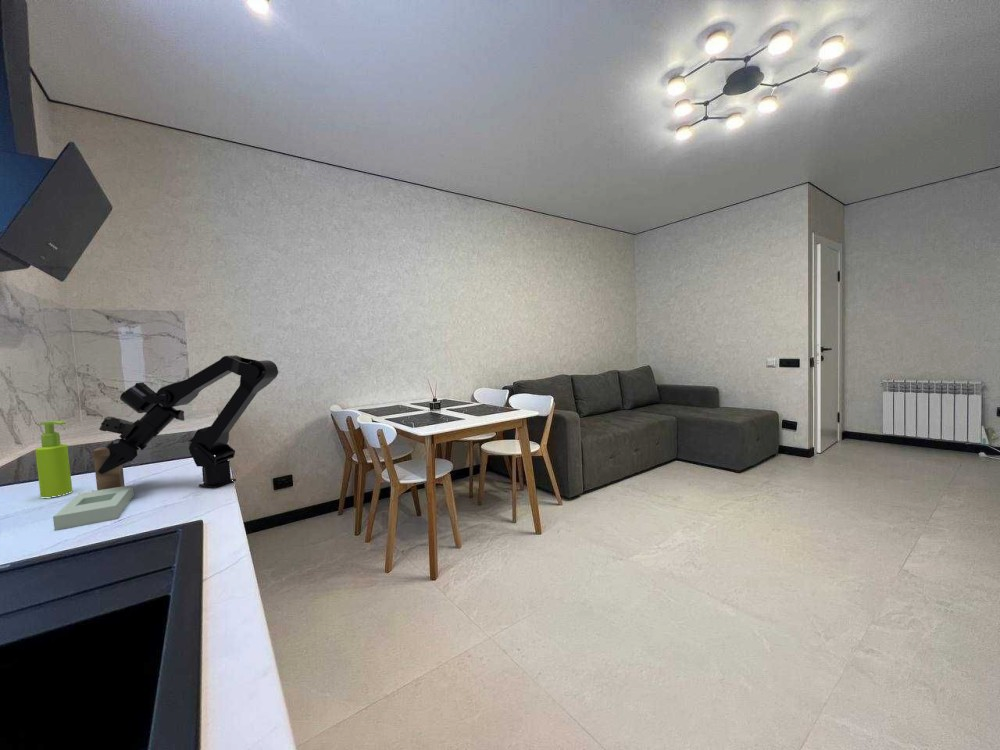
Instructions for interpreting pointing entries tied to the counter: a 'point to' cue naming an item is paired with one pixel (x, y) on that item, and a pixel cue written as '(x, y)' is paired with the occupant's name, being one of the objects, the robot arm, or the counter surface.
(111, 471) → the walnut post
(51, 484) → the soap dispenser
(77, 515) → the sage rectangular frame
